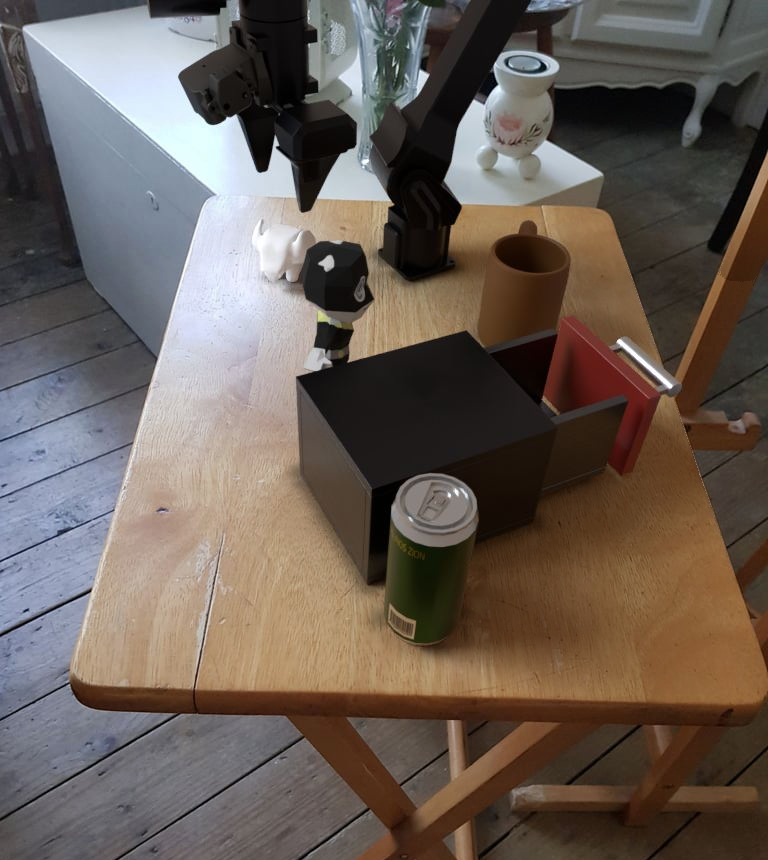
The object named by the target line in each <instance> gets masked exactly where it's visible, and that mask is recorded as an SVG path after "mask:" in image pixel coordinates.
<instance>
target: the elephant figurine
mask: <svg viewBox="0 0 768 860" xmlns="http://www.w3.org/2000/svg"><path fill="white" fill-rule="evenodd" d="M264 223H265V219H263V218H261V219H260V220H258V222H257V224H256V225H255V228H254V230H253V233H252V237H251V244H252V247H253V249H254V251H255V252H256V253H257V254H258V255H259V256H260V264H259V269H260V274H261V275H260V276H263V273H264V275H265V276H266V278H267V280H268V281H269V282H271V283H273V284H276V283H277V282H278V281H279V279H281V278H282V277H283V275H284V274H285V277H286V280H287V281H288V282H291V283H294V282H297V281H298V279H299V276H300V273H301V269H302V266H303V263H304V260H305V256H306V252H307V249H309V248H310V247H312V246H313V245H315V244H316V243H317V241H316V237H315V235H314V234H313V232H311V230H310V229H303V228H302V225H299V227H295V226H291V225H286V224H282V223H274V224H272V225H271V226H270V227H269V228H268V229H267V230H266V231H265V232H264V233H262V232H263V231H262V229H263V227H264Z"/></svg>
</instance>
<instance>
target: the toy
mask: <svg viewBox="0 0 768 860" xmlns="http://www.w3.org/2000/svg"><path fill="white" fill-rule="evenodd" d="M369 275H370V272H369V265H368V260H367V256H366V253H365V251H364V249H363V247H362V245H361V244H360V243H355V242H351V241H347V240H341V239H337V240H320V241H318V242H316V244H315V245H313V246H312V247H310V248H309V249H307V252H306V256H305V260H304V263H303V266H302V269H301V272H300V276H301V283H302V288H303V294H304V299H305V300H306V301H307V302H309V303H310V304H311V305H312V306H313V307H315V308H316V309H317V313H316V314H317V316H316V333H315V338H314V342H313V347H312V348H311V350H310V351H309V353H308V355H307V358H306V360H305V362H304V364H303V366H302V369H303V370H306V371H310V372H314V371H318V370H322V369H325V368H329V367H333V366H336V365H340V364H344V363H347V362H349V360H350V353H351V352H350V342H351V340H352V337H353V334H354V332H355V329H354V325H353V323H354V322H356V321H358V320H360V319H362V317H363V316H364V315H365V313H366V312H367V311H368V310H369V308H370V306H371V305H372V304H373V303H374V301H375V297H374V294H373V292H372V291H371V288H370V286H369V284H368V278H369Z"/></svg>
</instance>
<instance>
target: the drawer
mask: <svg viewBox="0 0 768 860" xmlns="http://www.w3.org/2000/svg"><path fill="white" fill-rule="evenodd" d="M483 348H484V349H485V350H486V351H487V352H488V353H489V354H490V355H491V356H492V357H493V359H494V360H495V361H496V362H497V363H498V364H499V365H500V366H501V367H502V368H503V369H504V370H505V371H506V372H507V373H508V374H509V376H510V377H511V378H512V379H513V380H514V381H515V382H516V383H517V384H518V385H519V386H520V387H521V388H522V389H523V390H524V391H525V392H526V394H527V395H528V396H529V397H530V398H531V399H532V400H533V401H534V402H535V403H536V404H537V405H538V406H539V407H540V408H541V409H542V411H543V412H544V413H545V414H546V415H547V416H548V417H549V418H550V419H551V420H552V421H553V422H554V423H555V424H556V425H557V426H558V431H557V434H556V438H555V442H554V446H553V449H552V453H551V457H550V460H549V464H548V468H547V472H546V475H545V479H544V483H543V486H542V490H541V494H540V497H542V496H545V495H547V494H551V493H554V492H555V491H558V490H562V489H565V488H567V487H570V486H572V485H575V484H578V483H581V482H583V481H587V480H589V479H591V478H594V477H597V476H599V475H603V474H604V473H605V470H606V467H607V466H608V465H609V466H610V467H611V468H612V469H613V470H614V471H615V472H616V473H617V474H618V475H619V476H620V477H624V476H626V475H629V474H631V473H633V471H634V469H635V466H636V464H637V461H638V458H639V456H640V453H641V450H642V448H643V445H644V442H645V440H646V437H647V435H648V432H649V429H650V427H651V424H652V422H653V418H654V417H655V414H656V411H657V408H658V406H659V403H660V400H661V398H662V396H664V395H665V396H667V398H673V397H675V396H677V395H678V394H679V393H680V392H681V390H682V388H683V384H682V383H681V382H680V381H679V380H678V379H676V378H675V377H674V376H673V375H672V374H671V373H669V372H668V370H666V369H665V368H664V367H662V365H660V364H659V363H658V362H657V361H656V360H655V359H653V357H651V356H650V355H649V354H648V353H647V352H646V351H644V350H643V349H642V348H641V347H640V346H639V345H638V344H636V342H634V341H633V340H632V339H630V337H628V336H627V335H624V336H621V337H620V338H618V340H617V341H616V342H615V343H614V344H612V345H607V344H606V343H605V342H604V341H602V339H600V337H598V336H597V335H596V334H595V333H594V332H593V331H592V330H590V329H589V327H587V326H586V325H585V324H584V322H583V323H582V321H580V319H578V317H576V316H575V315H574V314H572V315H567V316H564V317H562V318H561V320H560V323H559V328H558V332H557V330H556V331H555V330H554V329H549V330H545V331H542V332H538V333H535V334H531V335H527V336H524V337H520V338H517V339H513V340H510V341H506V342H503V343H499V344H496V345H492V346H488V347H485V346H484V347H483ZM618 354H620V355H621V356H622V357H623V358H624V359H626V361H628V362H629V363H630V364H631V365H632V366H633V367H635V369H636V370H638V371H639V372H640V373H641V374H642V375H643V376H645V378H646V379H648V380H649V381H650V382H651V383H652V384H653V385H654V386H653V385H651V383H649V382H648V381H647V380H646V379H645V378H643V377H642V375H640V373H638V372H637V371H636V370H635V369H634V368H632V366H630V365H629V364H628V363H627V362H626V361H625V360H623V358H622V357H621V356H620V355H618ZM543 398H545V399H546V400H547V401H548V402H549V403H550V404H551V405H552V406H553V407H554V408H555V410H557V412H558V413H559V414H556V413H555V412H554V411H553V410H552V409H551V407H550V406H549V405H548V404H547V403H546V402H545V401H544V400H543Z"/></svg>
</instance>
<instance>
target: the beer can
mask: <svg viewBox="0 0 768 860" xmlns="http://www.w3.org/2000/svg"><path fill="white" fill-rule="evenodd" d="M478 522H479V518H478V509H477V501H476V498H475V496H474V494H473V492H472V490H471V489H470V488H469V487H468V486H467V485H466V484H465V483H463V482H462V481H460V480H458V479H456V478H454V477H451V476H448V475H444V474H435V473H428V474H423V475H417V476H415V477H413V478H411V479H409V480H407V481H406V482H405V483H404V484H403V485H402V486H401V487H400V489H399V491H398V493H397V495H396V498H395V500H394V502H393V504H392V507H391V521H390V534H389V547H388V560H387V573H386V578H385V587H384V599H383V601H384V602H383V616H384V619H385V622H386V624H387V626H388V627H389V629H390V630H391V631H392V632H393V634H394V635H395V636H396V637H397V638H399V639H400V640H402V641H404V642H405V643H408V644H411V645H414V646H420V647H421V646H422V647H423V646H424V647H427V646H432V645H436V644H438V643H440V642H441V641H443V640H445V639H446V638H448V637H449V636H450V635H451V634H452V633H453V632H454V631H455V629H457V626H458V625H459V624H458V623H459V621H460V617H461V613H462V608H463V602H464V597H465V592H466V587H467V583H468V577H469V573H470V567H471V561H472V556H473V552H474V546H475V545H474V542H475V537H476V532H477V527H478Z"/></svg>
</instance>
